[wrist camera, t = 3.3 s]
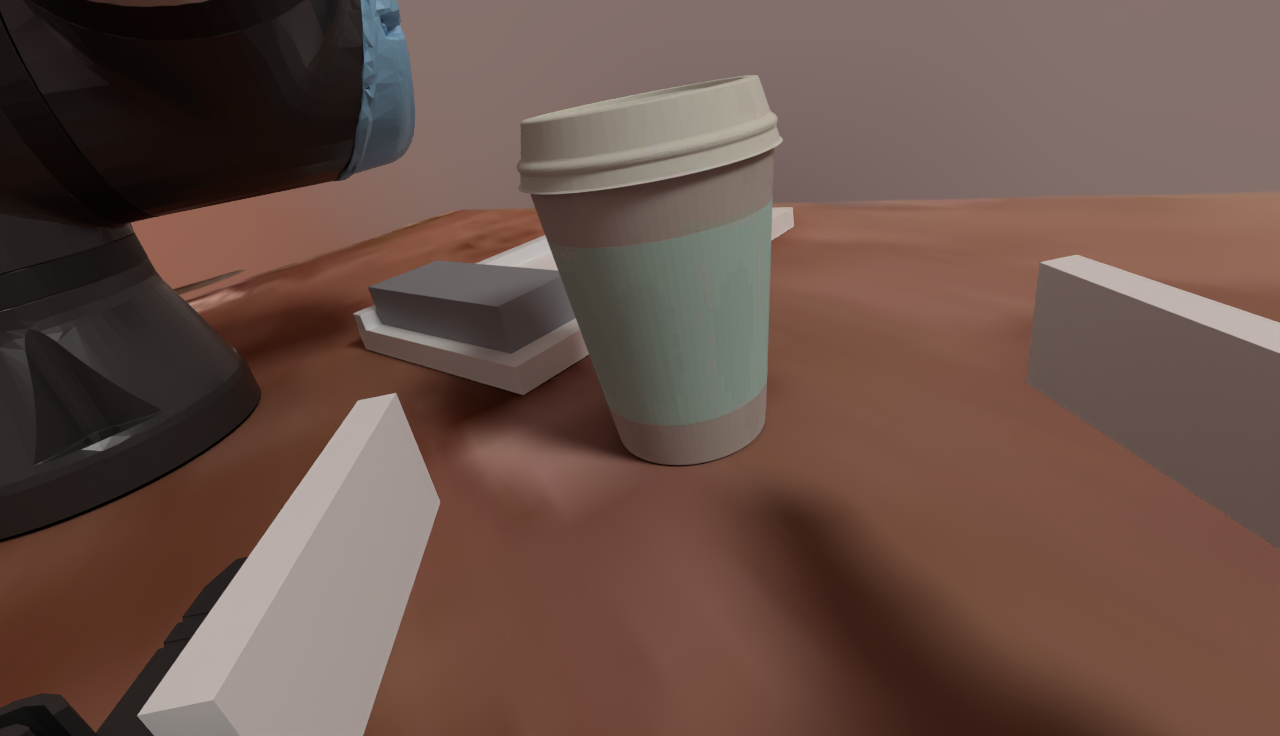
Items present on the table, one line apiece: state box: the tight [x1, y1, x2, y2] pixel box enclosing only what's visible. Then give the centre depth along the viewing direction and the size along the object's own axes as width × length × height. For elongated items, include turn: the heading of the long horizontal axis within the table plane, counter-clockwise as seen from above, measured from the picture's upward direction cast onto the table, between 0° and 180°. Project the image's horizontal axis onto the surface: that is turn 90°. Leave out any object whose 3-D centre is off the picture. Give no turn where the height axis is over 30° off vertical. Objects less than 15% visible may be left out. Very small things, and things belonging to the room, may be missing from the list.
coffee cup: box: [517, 75, 783, 465], centre depth 21 cm, size 8×8×12 cm
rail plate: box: [353, 207, 794, 395], centre depth 42 cm, size 28×16×4 cm, turn 140°
